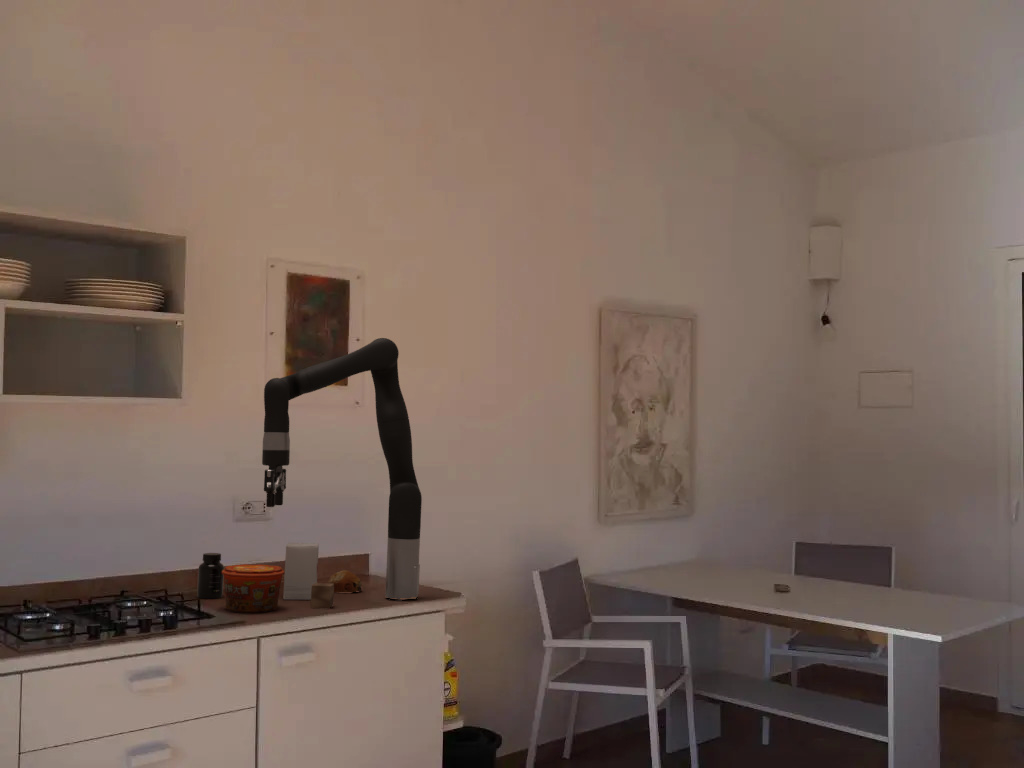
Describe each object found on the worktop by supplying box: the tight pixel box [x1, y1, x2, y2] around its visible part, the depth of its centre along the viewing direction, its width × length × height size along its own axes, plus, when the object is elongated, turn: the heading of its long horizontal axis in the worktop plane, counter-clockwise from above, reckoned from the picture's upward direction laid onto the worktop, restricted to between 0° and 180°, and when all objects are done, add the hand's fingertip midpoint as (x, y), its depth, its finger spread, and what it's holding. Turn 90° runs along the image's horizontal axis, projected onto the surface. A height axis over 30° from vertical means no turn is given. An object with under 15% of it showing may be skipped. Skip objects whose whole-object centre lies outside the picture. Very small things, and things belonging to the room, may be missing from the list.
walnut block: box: [310, 582, 335, 609], centre depth 265 cm, size 5×5×6 cm
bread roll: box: [327, 569, 364, 592], centre depth 294 cm, size 10×10×8 cm
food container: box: [222, 563, 285, 614], centre depth 259 cm, size 16×16×11 cm
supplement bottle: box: [196, 552, 225, 600], centre depth 275 cm, size 7×7×12 cm
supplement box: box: [282, 542, 320, 601], centre depth 280 cm, size 9×9×15 cm
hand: (274, 506), depth 280 cm, fingers open, 8 cm apart
